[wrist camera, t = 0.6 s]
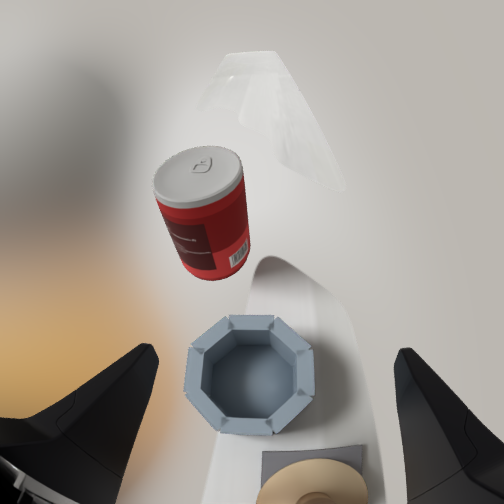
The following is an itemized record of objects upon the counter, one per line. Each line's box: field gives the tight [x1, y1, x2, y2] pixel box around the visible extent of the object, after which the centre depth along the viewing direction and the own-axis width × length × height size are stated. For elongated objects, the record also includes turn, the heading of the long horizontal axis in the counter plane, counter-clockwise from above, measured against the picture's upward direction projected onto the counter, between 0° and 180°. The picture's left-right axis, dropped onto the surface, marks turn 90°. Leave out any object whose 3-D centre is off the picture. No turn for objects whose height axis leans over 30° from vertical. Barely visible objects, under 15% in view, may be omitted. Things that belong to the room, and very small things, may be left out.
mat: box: [261, 445, 362, 488], centre depth 14 cm, size 10×8×1 cm
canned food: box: [152, 146, 250, 281], centre depth 26 cm, size 8×8×11 cm
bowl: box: [184, 315, 315, 435], centre depth 20 cm, size 9×9×4 cm
